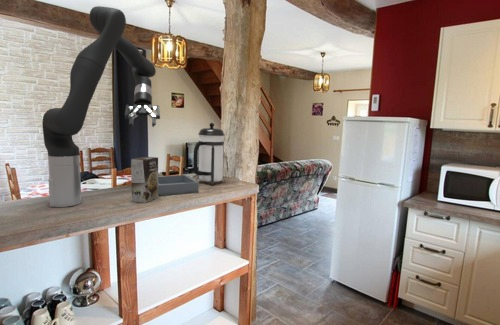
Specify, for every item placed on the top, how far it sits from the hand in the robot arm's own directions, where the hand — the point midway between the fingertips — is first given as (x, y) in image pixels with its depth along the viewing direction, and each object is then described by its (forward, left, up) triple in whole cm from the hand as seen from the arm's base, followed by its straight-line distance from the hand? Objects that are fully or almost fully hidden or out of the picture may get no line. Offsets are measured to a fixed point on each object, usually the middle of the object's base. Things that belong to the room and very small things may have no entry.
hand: (142, 125), depth 124 cm
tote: (+12, -5, -28) cm, 31 cm away
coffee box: (-2, -17, -28) cm, 33 cm away
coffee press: (+32, +2, -28) cm, 42 cm away
